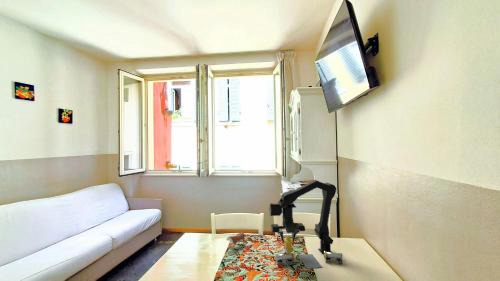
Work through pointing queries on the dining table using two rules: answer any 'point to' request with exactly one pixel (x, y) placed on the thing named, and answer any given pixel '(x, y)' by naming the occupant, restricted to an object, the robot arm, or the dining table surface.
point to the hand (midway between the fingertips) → (287, 242)
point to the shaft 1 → (285, 258)
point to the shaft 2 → (333, 257)
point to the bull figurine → (236, 238)
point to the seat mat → (310, 261)
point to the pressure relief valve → (287, 245)
